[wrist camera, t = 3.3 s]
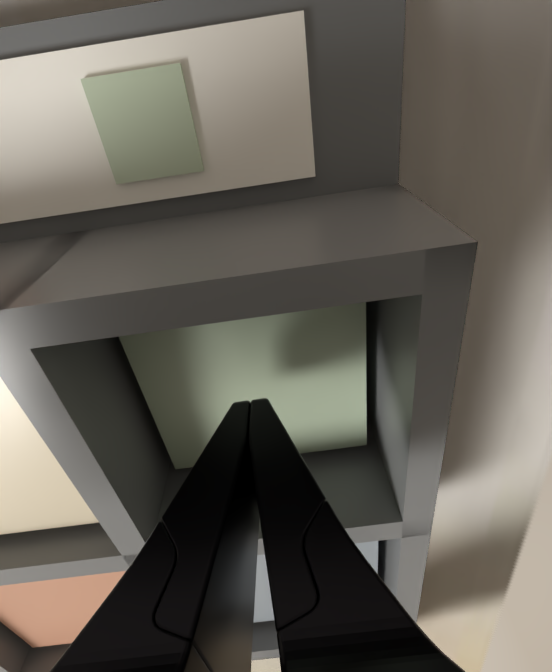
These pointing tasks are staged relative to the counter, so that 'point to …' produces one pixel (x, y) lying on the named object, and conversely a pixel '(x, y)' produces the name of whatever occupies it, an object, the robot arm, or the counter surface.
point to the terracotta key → (54, 607)
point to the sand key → (33, 477)
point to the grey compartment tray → (216, 256)
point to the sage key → (257, 377)
